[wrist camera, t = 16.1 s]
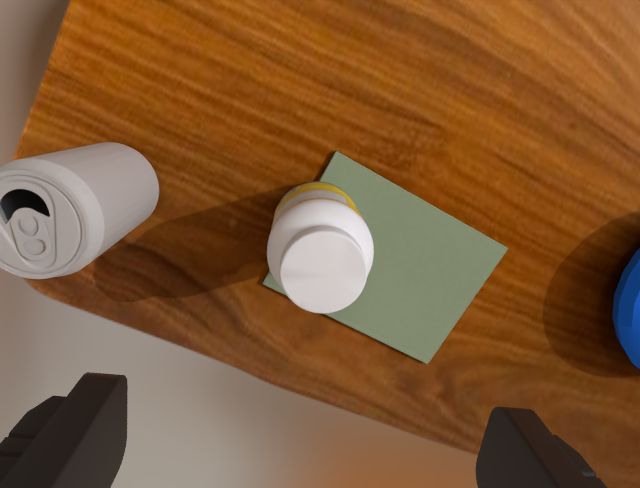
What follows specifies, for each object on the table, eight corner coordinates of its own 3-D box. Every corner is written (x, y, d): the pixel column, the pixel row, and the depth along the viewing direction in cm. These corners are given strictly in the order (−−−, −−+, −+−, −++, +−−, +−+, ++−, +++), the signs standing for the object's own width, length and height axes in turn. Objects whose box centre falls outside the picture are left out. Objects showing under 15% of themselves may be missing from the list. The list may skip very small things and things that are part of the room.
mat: (262, 282, 36) (262, 284, 36) (335, 150, 34) (336, 151, 33) (426, 362, 39) (427, 364, 39) (506, 247, 37) (508, 248, 36)
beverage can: (149, 134, 33) (69, 150, 21) (171, 219, 35) (109, 276, 23) (63, 148, 33) (-64, 172, 21) (90, 232, 35) (-13, 296, 23)
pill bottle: (333, 273, 36) (348, 348, 25) (259, 238, 35) (241, 301, 24) (372, 202, 34) (407, 248, 23) (296, 163, 33) (295, 192, 22)
